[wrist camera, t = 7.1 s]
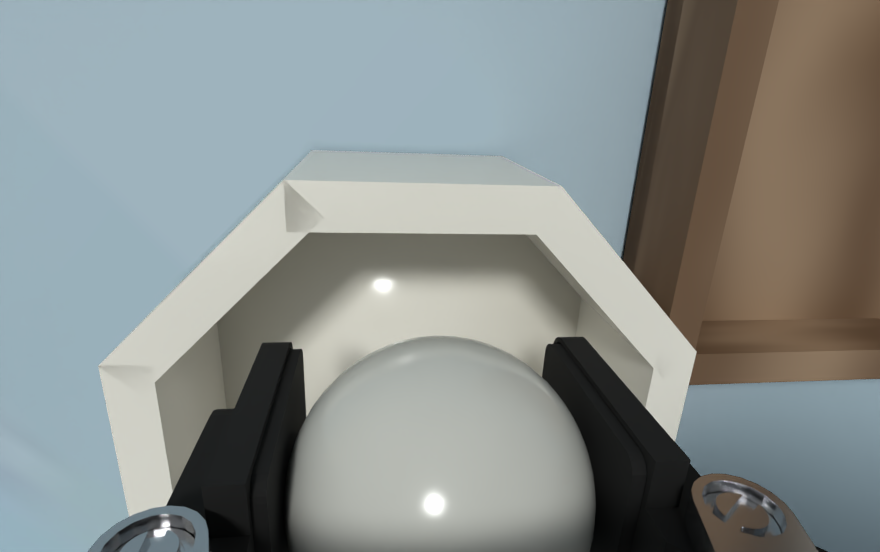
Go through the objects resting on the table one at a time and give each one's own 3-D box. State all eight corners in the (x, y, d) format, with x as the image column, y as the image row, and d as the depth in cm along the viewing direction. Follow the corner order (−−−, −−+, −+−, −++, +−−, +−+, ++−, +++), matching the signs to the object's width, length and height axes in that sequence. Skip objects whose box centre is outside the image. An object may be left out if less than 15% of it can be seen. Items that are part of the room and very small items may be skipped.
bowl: (624, 159, 15) (735, 190, 11) (568, 501, 20) (630, 628, 15) (164, 145, 14) (59, 174, 9) (215, 524, 18) (161, 676, 13)
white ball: (552, 290, 10) (700, 458, 6) (526, 486, 12) (624, 738, 7) (297, 291, 10) (231, 482, 5) (308, 499, 11) (266, 786, 7)
